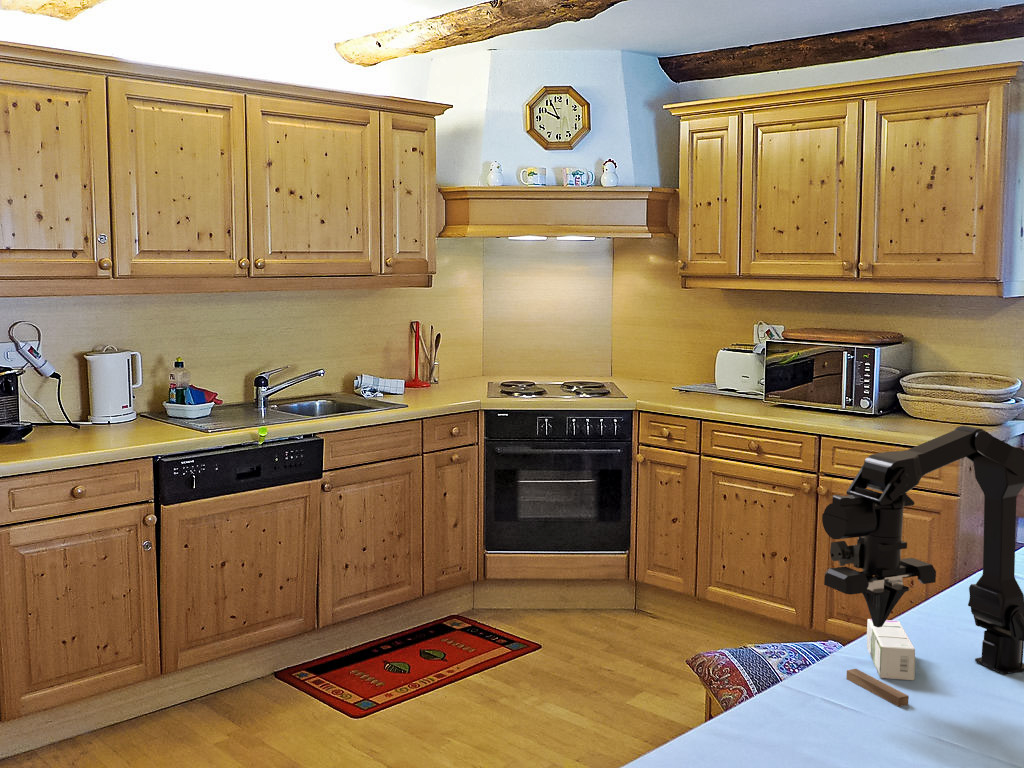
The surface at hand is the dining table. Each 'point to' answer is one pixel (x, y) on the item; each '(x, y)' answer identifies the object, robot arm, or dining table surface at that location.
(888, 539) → the robot arm
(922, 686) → the dining table surface
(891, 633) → the syrup box
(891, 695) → the strip
